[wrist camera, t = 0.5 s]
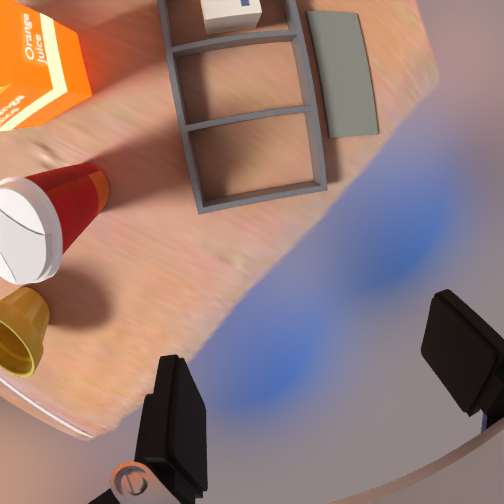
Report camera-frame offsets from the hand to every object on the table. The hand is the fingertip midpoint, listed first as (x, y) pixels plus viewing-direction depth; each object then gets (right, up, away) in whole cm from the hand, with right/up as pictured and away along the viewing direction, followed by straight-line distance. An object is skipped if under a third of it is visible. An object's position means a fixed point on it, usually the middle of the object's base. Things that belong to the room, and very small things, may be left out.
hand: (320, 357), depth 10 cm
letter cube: (-5, +28, +13) cm, 32 cm away
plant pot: (-34, -4, +24) cm, 42 cm away
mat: (+8, +23, +17) cm, 30 cm away
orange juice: (-24, +23, +13) cm, 36 cm away
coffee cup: (-21, +11, +19) cm, 30 cm away
